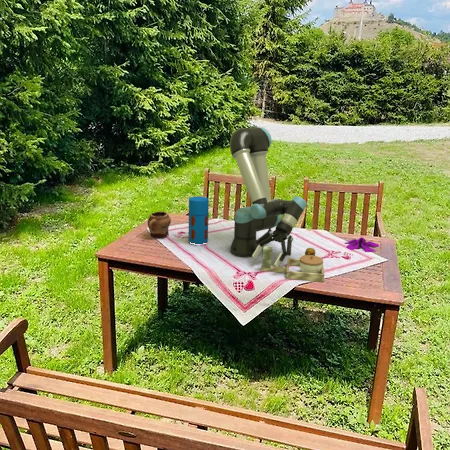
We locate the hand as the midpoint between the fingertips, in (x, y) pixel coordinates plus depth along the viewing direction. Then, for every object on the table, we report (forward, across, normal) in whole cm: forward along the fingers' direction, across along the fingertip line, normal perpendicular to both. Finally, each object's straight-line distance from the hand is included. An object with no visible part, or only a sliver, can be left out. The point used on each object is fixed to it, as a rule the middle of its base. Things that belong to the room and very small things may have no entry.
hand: (264, 261), depth 206 cm
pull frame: (-3, -10, -9) cm, 14 cm away
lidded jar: (-6, -17, -13) cm, 22 cm away
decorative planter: (+10, +72, +2) cm, 72 cm away
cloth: (-44, -13, -52) cm, 69 cm away
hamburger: (-19, -4, -27) cm, 33 cm away
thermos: (+2, +50, -6) cm, 51 cm away
